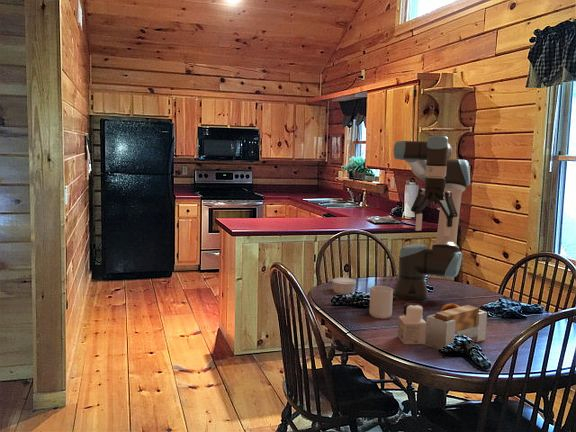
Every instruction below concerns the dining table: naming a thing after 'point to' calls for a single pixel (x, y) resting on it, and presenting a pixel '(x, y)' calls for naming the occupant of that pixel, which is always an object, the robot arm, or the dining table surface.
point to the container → (412, 325)
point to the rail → (460, 316)
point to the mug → (381, 301)
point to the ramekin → (343, 285)
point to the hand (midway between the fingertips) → (432, 233)
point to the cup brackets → (452, 331)
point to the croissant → (449, 307)
